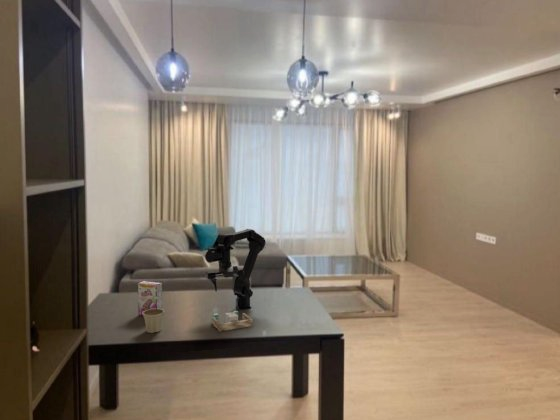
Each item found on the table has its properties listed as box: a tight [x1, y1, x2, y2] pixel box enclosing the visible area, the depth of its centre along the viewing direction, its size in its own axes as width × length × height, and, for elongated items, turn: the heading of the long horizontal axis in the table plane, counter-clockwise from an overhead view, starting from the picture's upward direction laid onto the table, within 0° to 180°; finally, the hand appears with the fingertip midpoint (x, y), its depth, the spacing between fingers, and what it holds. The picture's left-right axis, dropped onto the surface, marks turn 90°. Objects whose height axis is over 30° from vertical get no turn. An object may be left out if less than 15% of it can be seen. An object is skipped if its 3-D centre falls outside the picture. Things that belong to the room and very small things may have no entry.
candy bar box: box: [137, 280, 163, 317], centre depth 213 cm, size 11×5×16 cm, turn 71°
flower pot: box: [142, 308, 165, 334], centre depth 192 cm, size 9×9×9 cm
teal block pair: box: [212, 310, 239, 320], centre depth 208 cm, size 12×2×3 cm, turn 116°
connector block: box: [225, 311, 239, 323], centre depth 199 cm, size 4×7×5 cm, turn 26°
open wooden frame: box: [211, 312, 253, 332], centre depth 200 cm, size 16×10×3 cm, turn 116°
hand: (224, 290), depth 214 cm, fingers open, 9 cm apart
